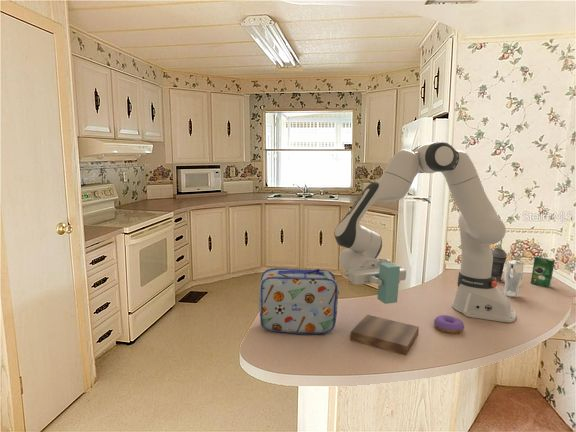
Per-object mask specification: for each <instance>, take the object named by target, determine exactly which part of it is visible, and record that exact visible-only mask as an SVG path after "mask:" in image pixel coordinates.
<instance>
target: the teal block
mask: <svg viewBox="0 0 576 432" xmlns="http://www.w3.org/2000/svg"><path fill="white" fill-rule="evenodd" d="M396 264H397V263H394V262H391V263H381V264H380V269H379V279H383V280H384V285H380V286H379V285H378V284H377V287H378V288H377V300H379V301H380V302H381V303H384V305H389V304H395V303H398V297H399V284H400V283H399V272H400V265H399V264H397V265H396ZM398 265H399V266H398Z"/></svg>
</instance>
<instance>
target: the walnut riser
mask: <svg viewBox="0 0 576 432" xmlns="http://www.w3.org/2000/svg"><path fill="white" fill-rule="evenodd" d="M419 329H420V328H419V326H418V325H414V324H413V325H412V324H409V323H405V322H401V321H397V320H393V319H388V318H384V317H379V316H374V315H371V314H366V315H365V317H364V318H362V320H361V321H359V322H358V324H356V325H355V326H354V328H352V330H351V331H350V341H352V342H354V343H360V344H362V345H363V344H364V345H367V346H371V347H375V348H379V349H380V350H381V349H382V350H386V351H389V352H391V353H392V352H393V353H397V354H400V355H405V356H407V355H408V354H409V352H410V350H411V348H412V347H413V345H414V343H415V341H416V340H417V337H418V336H419Z"/></svg>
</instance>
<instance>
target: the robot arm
mask: <svg viewBox="0 0 576 432" xmlns="http://www.w3.org/2000/svg"><path fill="white" fill-rule="evenodd" d="M387 163H388V164H387V165H386V167H385V169H384V171H383V173H382V174H381V176H380V177H379V178H378V179H377V180H376V181H373V182H371V183H369V184H368V185H367V186H366V187H365V188H364V190H363V191H362V192H361V194H360V195H359V196H358V197H357V199H356V200H355V202H354V204H353V205H352V206H351V207H350V209H349V211H348V212H347V214H346V215H345V216H344V217H343V218H342V219H341V221H340V222H338V224H337V225H336V227H335V230H334V238H335V242H336V243H337V245H338V246H340V247H343V248H344V249H343V250H341V252H340V253H339V256H338V260H339V264H340V266H341V267H342V268H343V270H344V272H343V275H344V276H346V277H347V279H348V281H349V282H350V283H352V284H353V285H356V286H360V285H362V286H363V285H369V284H373V285H374V284H375V285H377V286H378V285H379V286H380V285H384V280H383V279H379V269H380V264H381V263H392V261H391V260H390V259H386V258H378V256H380V253H381V251H382V247H383V240H382V237H381V235H380V233H379V232H376V231H374V230H372V229H370V228H367V227H365V226H364V225H362V224H360V222H361V220H362V218H364V216H365V215H366V213H367V212H368V210H369V209H370V207H371V206H372V205H374V203H376V202H391V203H392V202H397V201H400V200H402V199H403V198H405V196H406V195H407V194H408V193H409V190H410V189H411V187H412V184H413V182H414V181H415V180H414V179H415V178H416V176H417V175H418V174H434V173H441V174H442V175H443V177H444V178H445V181H446V185H447V186H448V189H449V192H450V194H451V197H452V201H454V205H455V206H456V207H457V209H458V211H459V213H460V215H459V217H458V219H457V220H458V223H457V224H458V226H459V233H460V234H459V235H460V244H461V245H460V246H461V257H460V258H461V259H460V266H459V273H458V274H457V290H456V293H455V297H454V299H453V303H452V304H451V306H452V308H453V309H454V310H456V311H458V312H460V313H462V314H463V315H464V316H466V317H467V318H474V319H480V320H488V321H494V322H501V323H509V324H510V323H513V322H515V321H516V319H517V313H516V311H515V310H514V309H512V308H511V303H510V298H508V296H506V295H504V294H503V291H501V290H500V289H499V288H498V287H497V286H498V282H497V281H496V278H493V277H492V276H491V272H492V263H493V255H492V248H491V245H494V244H498V243H499V242H500V243H501V240H502V241H503V239H504V237H505V235H506V233H507V231H506V230H507V228H506V226H505V223H504V222H503V221H502V219H500V217H499V215H498V213H497V211H496V210H495V208H494V205H493V204H492V202H491V200H490V199H489V198H488V196H487V193H486V191H485V189H484V187H483V184H482V181H481V179H480V176H479V173H478V171H477V169H476V167H475V165H474V163H473V161H472V159H471V157H470V156H469V154H468V153H467V152H466V151H464V150H459V149H458V150H457V149H455V148H454V147H453V146H452V145H451V144H450V143H448V142H446V141H436V142H435V141H433V142H427V143H425V144H423V145H418V146H417V147H415V148H413V149H412V150H410V149H409V150H408V149H400V150H397V151H396V152H395V153H394V155H393V156H392V157H391V159H390V160H389V162H387ZM395 264H396V265H398V266H400V265H399V264H397V263H395ZM406 279H407V270H406V268H404V267H402V266H400V272H399V284H400V283H401V281H405V280H406Z"/></svg>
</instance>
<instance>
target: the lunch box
mask: <svg viewBox="0 0 576 432" xmlns="http://www.w3.org/2000/svg"><path fill="white" fill-rule="evenodd" d="M260 277H261V278H260V283H259V291H258V292H259V293H258V294H259V295H258V308H259V309H258V310H259V317H260V318H259V321H260V326H261V327H262V328H263V329H264V330H265V331H269V332H270V331H271V332H279V333H287V334H290V333H291V334H320V335H321V334H327V333H331V332H332V331H333V330H334V329H335V326H336V323H337V322H336V321H337V315H338V304H339V302H338V300H339V299H338V298H339V295H340V291H339V287H338V286H339V285H338V282H337V281H336V278H335V275H334V274H333V273H332V272H331V271H329V270H324V269H320V268H316V269H299V268H281V267H279V268H277V267H276V268H269V269H266V270H264V272H263V273H262V274H261V276H260Z"/></svg>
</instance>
